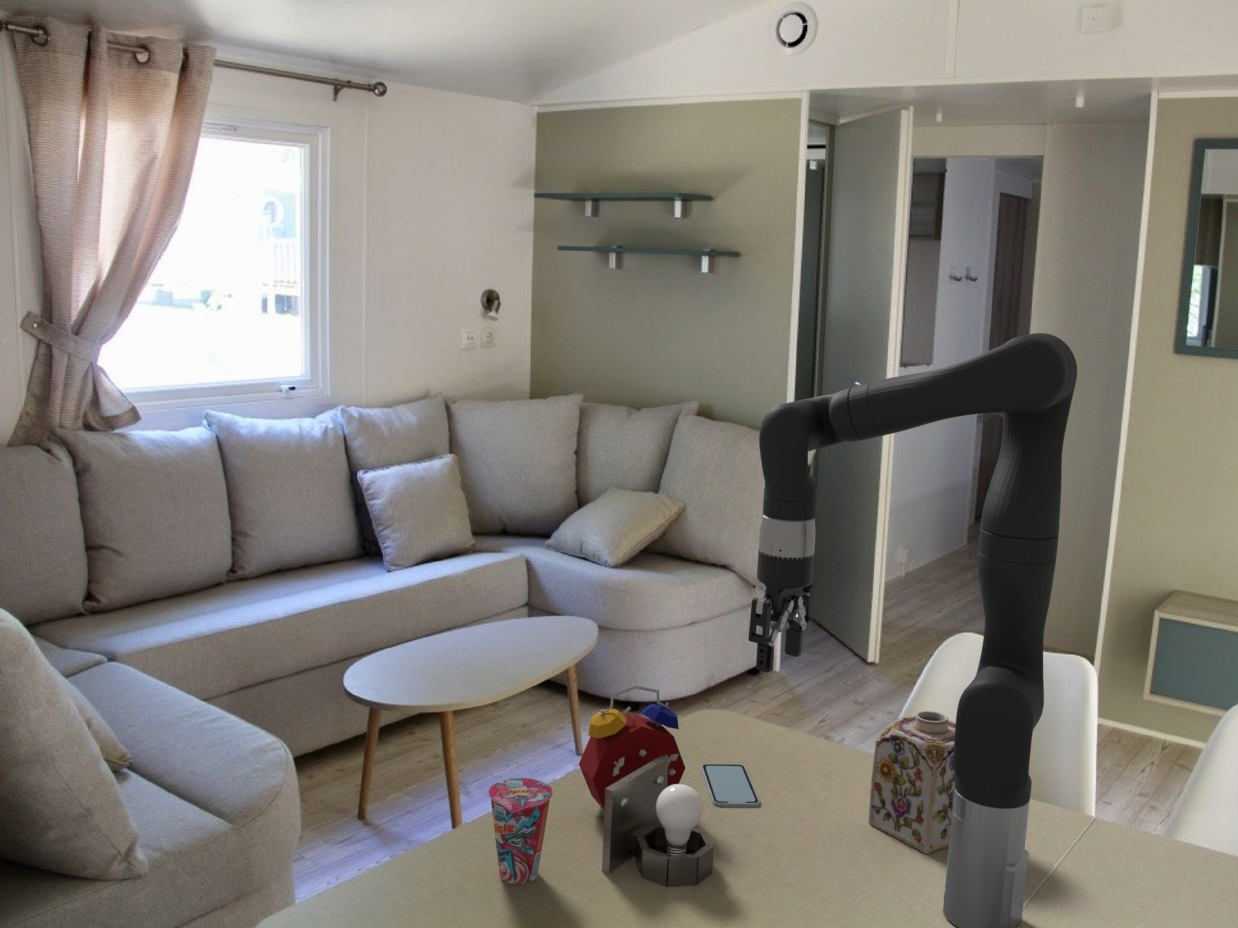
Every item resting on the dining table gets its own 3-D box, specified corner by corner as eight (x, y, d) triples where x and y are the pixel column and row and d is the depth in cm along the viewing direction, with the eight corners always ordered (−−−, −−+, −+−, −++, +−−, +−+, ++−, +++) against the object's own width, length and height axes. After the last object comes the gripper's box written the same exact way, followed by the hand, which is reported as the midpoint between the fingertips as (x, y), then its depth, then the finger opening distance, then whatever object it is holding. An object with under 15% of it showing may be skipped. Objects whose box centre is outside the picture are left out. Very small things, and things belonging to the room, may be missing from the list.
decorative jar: (926, 856, 175) (937, 737, 172) (865, 824, 185) (874, 710, 181) (979, 835, 182) (991, 720, 179) (918, 805, 192) (928, 695, 188)
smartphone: (744, 763, 204) (761, 803, 189) (744, 768, 204) (760, 808, 189) (700, 763, 203) (713, 803, 188) (699, 768, 203) (713, 808, 188)
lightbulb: (695, 875, 165) (700, 799, 163) (648, 868, 167) (653, 792, 165) (702, 853, 171) (706, 779, 169) (657, 846, 173) (661, 773, 171)
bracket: (730, 859, 172) (735, 778, 170) (677, 900, 161) (682, 814, 159) (657, 833, 179) (661, 755, 177) (601, 870, 167) (605, 788, 165)
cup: (479, 863, 168) (481, 781, 166) (539, 855, 171) (542, 774, 169) (497, 898, 160) (499, 811, 157) (560, 888, 163) (563, 803, 160)
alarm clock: (666, 796, 191) (673, 673, 187) (690, 821, 183) (697, 693, 179) (576, 809, 185) (581, 682, 182) (596, 835, 177) (601, 703, 174)
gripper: (787, 563, 159) (779, 682, 162) (834, 543, 171) (826, 655, 173) (736, 553, 163) (729, 670, 166) (785, 534, 175) (778, 644, 178)
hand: (778, 662), depth 170 cm, fingers open, 8 cm apart
